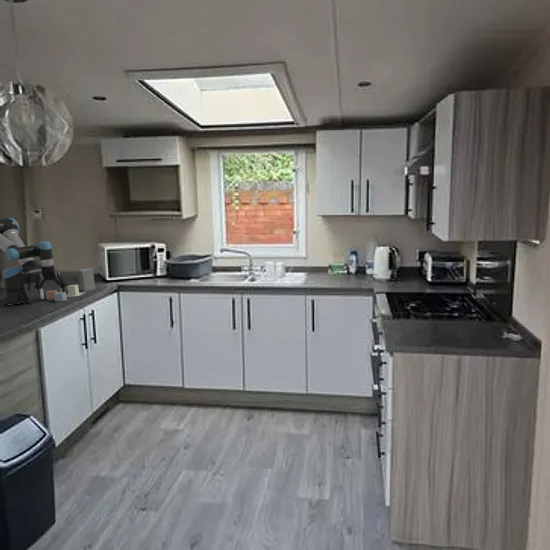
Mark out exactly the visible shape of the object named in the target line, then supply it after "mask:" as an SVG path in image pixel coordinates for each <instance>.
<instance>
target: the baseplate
mask: <svg viewBox="0 0 550 550" xmlns="http://www.w3.org/2000/svg"><path fill="white" fill-rule="evenodd" d="M86 293H87V291H79V294H77V295H69V296H68V293H66V297H70V298H71V297H80V296H82V295H83V294H86Z"/></svg>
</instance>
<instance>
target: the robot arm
mask: <svg viewBox="0 0 550 550" xmlns="http://www.w3.org/2000/svg"><path fill="white" fill-rule="evenodd" d="M19 232H20V226H19V223H18V221H17V220H16V219H15V218H13V217H2V218H0V250H2V251H3V252H4V254H5V257H6V258H7V260H9V261H18V264H19V265H14V266H10V267H7V268H4V269H3V271H2V279H3V283H4V284H3V285H4V290H5V295H4V296H5V297H4V305H5V304H18V303H23V302H27V301H30V300H31V301H32V298H31V297H30V294H29V292H28V291H27V288H26V287H27V285H31V284H32V285H33V284H35V286H34V289H36V290H37V291H38V294H39V295H40V296H39V298H40V299H41V300H44V299H45V296H44V289H43V288H42V287H43V286H44V284H45V283H46V282H47V281H54V282H55V283H56V284H57V285H58V286H59V287H60V288H59V292H66V288H65V287H68V284H67V282H66V281H65V280H64V279H65V278H64V277H63V276H62V275H61V274H62V273H61V272H56V271H55V270H56V269H55V266H54V264H55V262H54V256H53V251H52V244H51V241H47V240H45V241H38V242H37V244H30V245H25V244H24V242H23V241H22V239H21V238H20V236H19V234H20V233H19ZM37 257H38V258H39V261H40V263H39V261H38V260H37V259H34V258H37ZM31 301H30V302H31Z"/></svg>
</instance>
